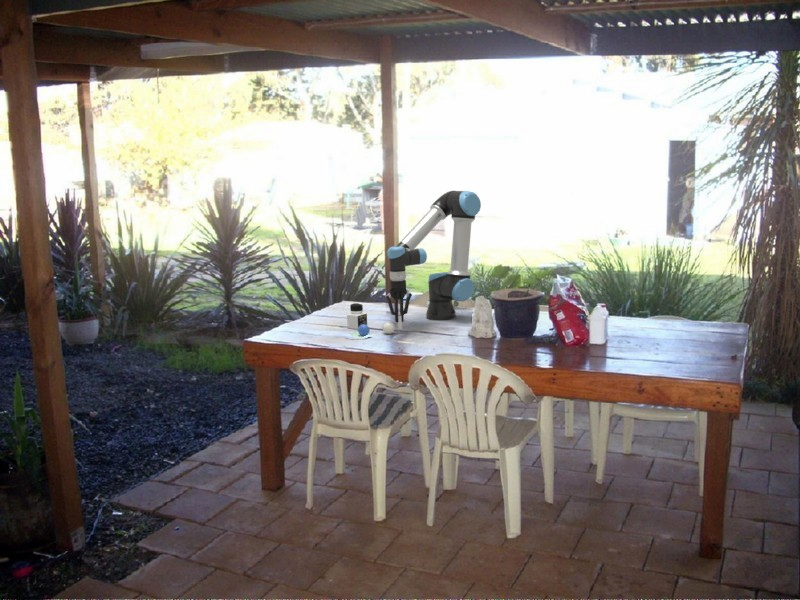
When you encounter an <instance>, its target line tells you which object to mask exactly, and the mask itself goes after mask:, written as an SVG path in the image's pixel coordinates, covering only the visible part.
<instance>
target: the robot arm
mask: <svg viewBox="0 0 800 600" xmlns="http://www.w3.org/2000/svg"><path fill="white" fill-rule="evenodd" d="M481 205H482V203H481V199H480V197H479V196H478V194H477V193H475V192H473V191H470V190H469V191H468V190H449V191H447V192H445V193H443V194H442V195H440V196H439V197H438V198H437V199H436V200H435V201H434V202H433V203H432V204H431V205H430V207H429V210H428V212H426V214H425V215H424V216H423V217H421V219H420V220H419V221H418V222H417V224H415V226H413V228H412V229H411V230H410V231H409V232H408V233H407V234H406V235H405V236H404V237H403V238H402V240H401V241H400V242H399V243H398V244H396V245H394V246H393V245H392V246H391V247H389V248H388V250H387V252H386V255H387V256H386V257H387V259H388V263H389V265H388V266H389V279H390V280H389V288H390V289H389V292H388V294H385V295H384V297H385V298H386V300H387V304H388V306H389V311H390V314H391V315H393V316H394V320H395V323H397V324H396V325H397V329H398V330H403V323H404V321H405V319H404V317H405V316H404V315H407V314H408V311H409V306H410V302H411V301H410V300H411V298H412V296H413V294H412V293H411V292H408V290H407V280H406V279H407V277H406V267H409V266H410V267H411V266H417V265H422V264H423V265H424V264H425V263H426V261H427V259H428V255H427V251H426V250H425V249H424V248H417V247H418V245H420V244H421V242H423V240H424V239H425V238H427V236H428V235H429V234H430V233H431V232H432V231H433V229H435V227H436V226H438V224H439V223H440V222H441V221H443V220H445V219H447V217H449V216H450V215H451V220H452V221H453V231H452V242H451V243H452V246H451V254H450V255H451V257H450V269H449V270H448V271H446V272H435V273H430V274H429V275H428V297H429V298H428V302H429V304H428V306H427V309H426V315H425V316H426V318H427V319H428V320H432V321H434V320H435V321H445V320H446V321H447V320H452V319H455V318H456V317H457V311H456V310H455V309H456V308H455V306H454V304H453V301H455V302H466V301H469V299H470V298H471V297H472V296H473V294H474V290H475V285H474V283H473V280H471V273H470V272H469V270H468V269H469V258H470V256H469V255H470V246H471V245H470V244H471V233H472V223H473V222H474V221H475V220H476V215H478V214H479V212H480V211H481V207H482V206H481ZM391 297H392V298H393V302H394V304H393V303H392V300H391ZM405 297H406V299H405V303H404V298H405ZM393 305H394V306H393ZM454 317H455V318H454Z"/></svg>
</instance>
